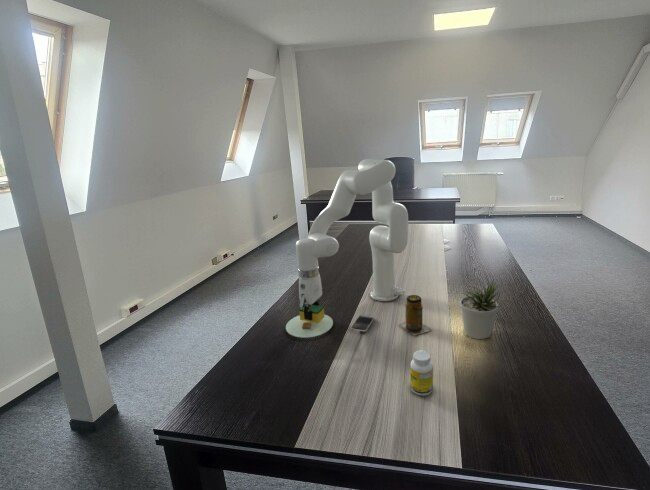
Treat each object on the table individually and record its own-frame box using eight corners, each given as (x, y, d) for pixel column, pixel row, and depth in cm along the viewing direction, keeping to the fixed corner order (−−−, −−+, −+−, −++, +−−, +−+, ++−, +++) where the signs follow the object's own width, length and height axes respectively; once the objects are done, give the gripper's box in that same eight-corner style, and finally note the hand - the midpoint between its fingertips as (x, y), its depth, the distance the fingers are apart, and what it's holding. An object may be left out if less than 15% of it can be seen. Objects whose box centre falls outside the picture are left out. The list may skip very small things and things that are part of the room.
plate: (340, 319, 142) (340, 316, 142) (319, 344, 126) (319, 341, 126) (301, 312, 149) (300, 310, 148) (276, 335, 133) (276, 332, 132)
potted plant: (480, 348, 119) (483, 293, 113) (451, 330, 130) (452, 278, 125) (507, 337, 124) (511, 284, 118) (476, 320, 136) (479, 271, 130)
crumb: (311, 324, 137) (311, 322, 136) (310, 328, 134) (310, 326, 133) (303, 324, 137) (303, 322, 136) (302, 329, 134) (302, 326, 134)
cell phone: (349, 332, 133) (349, 328, 132) (360, 317, 142) (360, 314, 142) (365, 334, 130) (365, 331, 130) (375, 319, 140) (375, 316, 140)
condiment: (416, 320, 138) (416, 291, 134) (430, 330, 131) (430, 300, 127) (400, 325, 135) (399, 296, 131) (413, 336, 128) (413, 305, 124)
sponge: (324, 316, 140) (323, 306, 139) (318, 323, 135) (317, 312, 134) (306, 313, 143) (305, 303, 142) (300, 319, 138) (299, 309, 137)
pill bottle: (408, 382, 105) (407, 349, 102) (429, 380, 105) (429, 347, 102) (413, 397, 99) (413, 363, 96) (435, 395, 99) (436, 360, 96)
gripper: (305, 282, 125) (310, 328, 130) (327, 265, 140) (330, 307, 145) (287, 279, 128) (292, 325, 133) (310, 263, 143) (314, 304, 148)
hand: (312, 315), depth 139 cm, fingers closed on sponge, 5 cm apart
